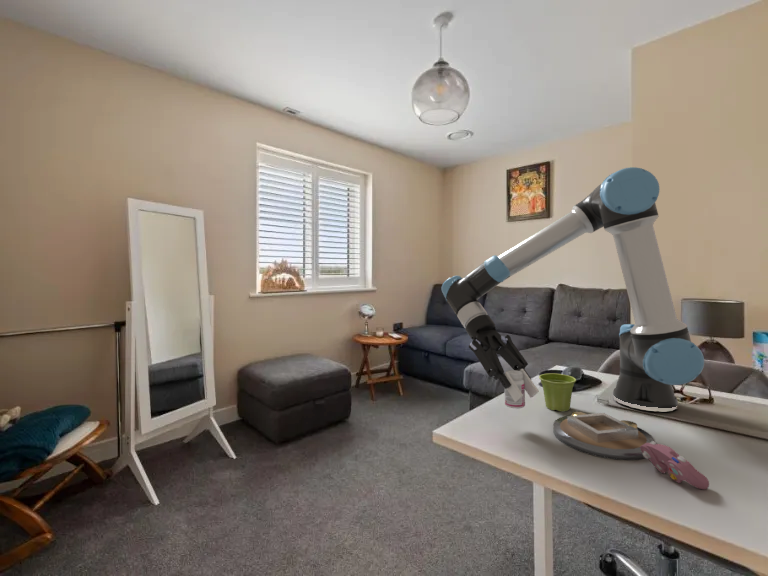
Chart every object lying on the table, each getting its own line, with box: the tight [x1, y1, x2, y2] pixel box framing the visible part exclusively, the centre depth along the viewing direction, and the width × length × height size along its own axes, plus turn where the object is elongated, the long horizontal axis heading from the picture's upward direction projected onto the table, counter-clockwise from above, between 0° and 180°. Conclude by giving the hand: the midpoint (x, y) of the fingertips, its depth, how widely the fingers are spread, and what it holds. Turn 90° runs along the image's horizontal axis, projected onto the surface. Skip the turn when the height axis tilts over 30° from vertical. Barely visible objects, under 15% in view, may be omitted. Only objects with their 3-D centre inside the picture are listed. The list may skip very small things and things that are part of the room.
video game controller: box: [640, 441, 710, 490], centre depth 67 cm, size 10×5×7 cm, turn 6°
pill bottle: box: [503, 369, 526, 410], centre depth 89 cm, size 5×5×8 cm
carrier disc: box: [552, 411, 656, 461], centre depth 83 cm, size 20×20×4 cm
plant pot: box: [538, 373, 577, 412], centre depth 102 cm, size 9×9×9 cm
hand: (527, 396), depth 86 cm, fingers closed on pill bottle, 5 cm apart
